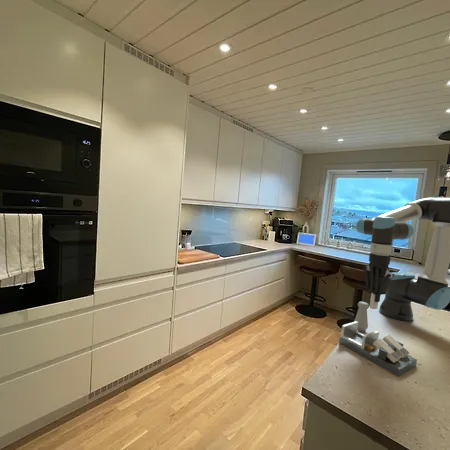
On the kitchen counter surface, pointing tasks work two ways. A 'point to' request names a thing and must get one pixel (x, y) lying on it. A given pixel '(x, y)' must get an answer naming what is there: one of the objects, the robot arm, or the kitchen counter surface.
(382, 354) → the grey mechanical fixture
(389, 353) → the rocker
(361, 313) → the salt shaker
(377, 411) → the kitchen counter surface
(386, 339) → the rocker
